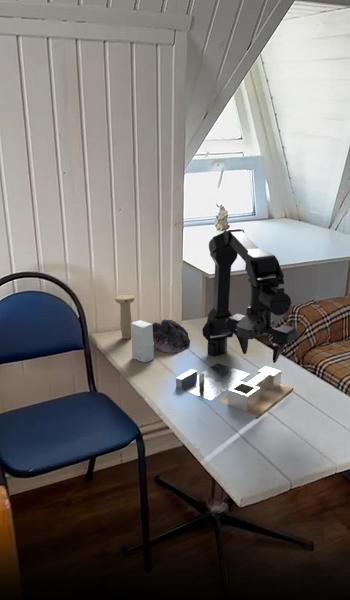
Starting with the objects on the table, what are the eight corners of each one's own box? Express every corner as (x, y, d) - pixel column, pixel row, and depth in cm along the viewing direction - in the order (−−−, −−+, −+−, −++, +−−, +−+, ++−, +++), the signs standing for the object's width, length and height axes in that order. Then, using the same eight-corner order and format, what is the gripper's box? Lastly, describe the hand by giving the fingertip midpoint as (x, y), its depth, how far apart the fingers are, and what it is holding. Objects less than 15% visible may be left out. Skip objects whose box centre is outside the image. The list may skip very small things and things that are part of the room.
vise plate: (217, 365, 170) (217, 349, 168) (250, 376, 163) (251, 359, 161) (176, 390, 155) (175, 373, 154) (210, 403, 148) (210, 385, 146)
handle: (137, 339, 191) (135, 298, 186) (118, 341, 189) (116, 300, 185) (134, 334, 195) (132, 294, 190) (116, 336, 194) (114, 295, 189)
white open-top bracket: (263, 379, 159) (263, 365, 157) (281, 385, 155) (282, 371, 153) (227, 404, 146) (228, 389, 144) (247, 411, 142) (247, 396, 140)
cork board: (256, 378, 161) (256, 375, 161) (293, 390, 154) (293, 387, 154) (218, 404, 148) (218, 401, 147) (257, 419, 140) (257, 415, 140)
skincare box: (154, 359, 176) (153, 323, 172) (144, 363, 173) (143, 327, 169) (141, 353, 180) (139, 319, 176) (131, 358, 177) (129, 323, 173)
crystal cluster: (197, 343, 189) (196, 314, 187) (182, 355, 177) (181, 325, 175) (161, 340, 194) (160, 313, 192) (145, 352, 182) (143, 323, 180)
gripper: (213, 303, 142) (213, 359, 147) (277, 319, 131) (274, 378, 136) (237, 293, 150) (236, 345, 155) (299, 306, 139) (296, 363, 144)
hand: (259, 357), depth 147 cm, fingers open, 9 cm apart
